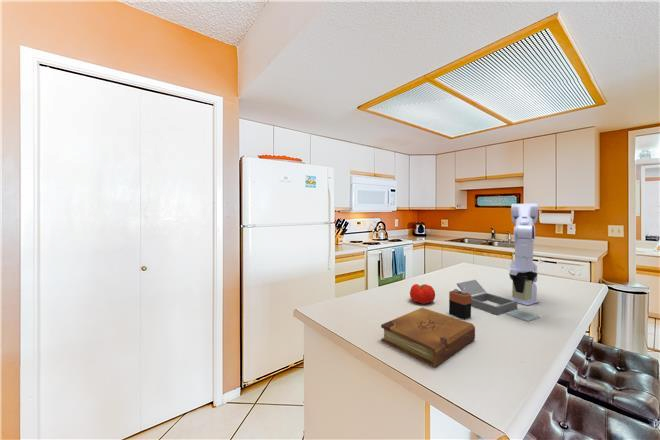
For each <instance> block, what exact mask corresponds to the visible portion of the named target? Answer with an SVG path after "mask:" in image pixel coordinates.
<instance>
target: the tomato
mask: <svg viewBox="0 0 660 440" xmlns="http://www.w3.org/2000/svg"><path fill="white" fill-rule="evenodd" d="M409 297H410V299H411V300H412V301H414V302H415V303H419V304H422V305H423V304H424V305H426V304H428V303H431V302H432V303H433V302H434V300H435V298H436V292H435V289H434V288H433V286H432V285H429V284H426V283H424V284H421V285H420V284H418V283H415V284H413V285H412V286H411V288H410V291H409Z"/></svg>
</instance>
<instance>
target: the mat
mask: <svg viewBox="0 0 660 440" xmlns="http://www.w3.org/2000/svg"><path fill="white" fill-rule="evenodd" d="M505 315H507V316H511V317H513V318H516V319H519V320H522V321H525V322H531V321H534V320H536V319H539V318H541V316H540V315H537V314H533V313H530V312H526V311H523V310H520V309H518V308H517V309H514V310H511V311H508V312H505Z"/></svg>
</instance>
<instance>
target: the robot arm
mask: <svg viewBox="0 0 660 440" xmlns="http://www.w3.org/2000/svg"><path fill="white" fill-rule="evenodd" d="M510 207H511V209H510V213H511V214H510V216H511V221H512V223H513V224H515V225H514V226H513V239H514V260H512V261H510V264H509V279H510V280H511V281H512V284H513V283H514V286H515V290H516V292H519V293H523V290H524V284H525V281H526V279H527V280H532V299H529V300H521V299H518V298H514V297H510V298H509V299H510V300H514V301H517V304H521V305H524V306H531V305H534V304H536V303H539V302H540V301H539V300H537V298H538V296H537V295H538V293H537V292H538V287H537V285H536V283H537V282H538V266H537V264H536V263H535V262H534V240H535V239H536V226H535V224H536V223H537V222H538V218H539V217H538V216H539V203H537V202H535V203H512V204H511V206H510Z"/></svg>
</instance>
